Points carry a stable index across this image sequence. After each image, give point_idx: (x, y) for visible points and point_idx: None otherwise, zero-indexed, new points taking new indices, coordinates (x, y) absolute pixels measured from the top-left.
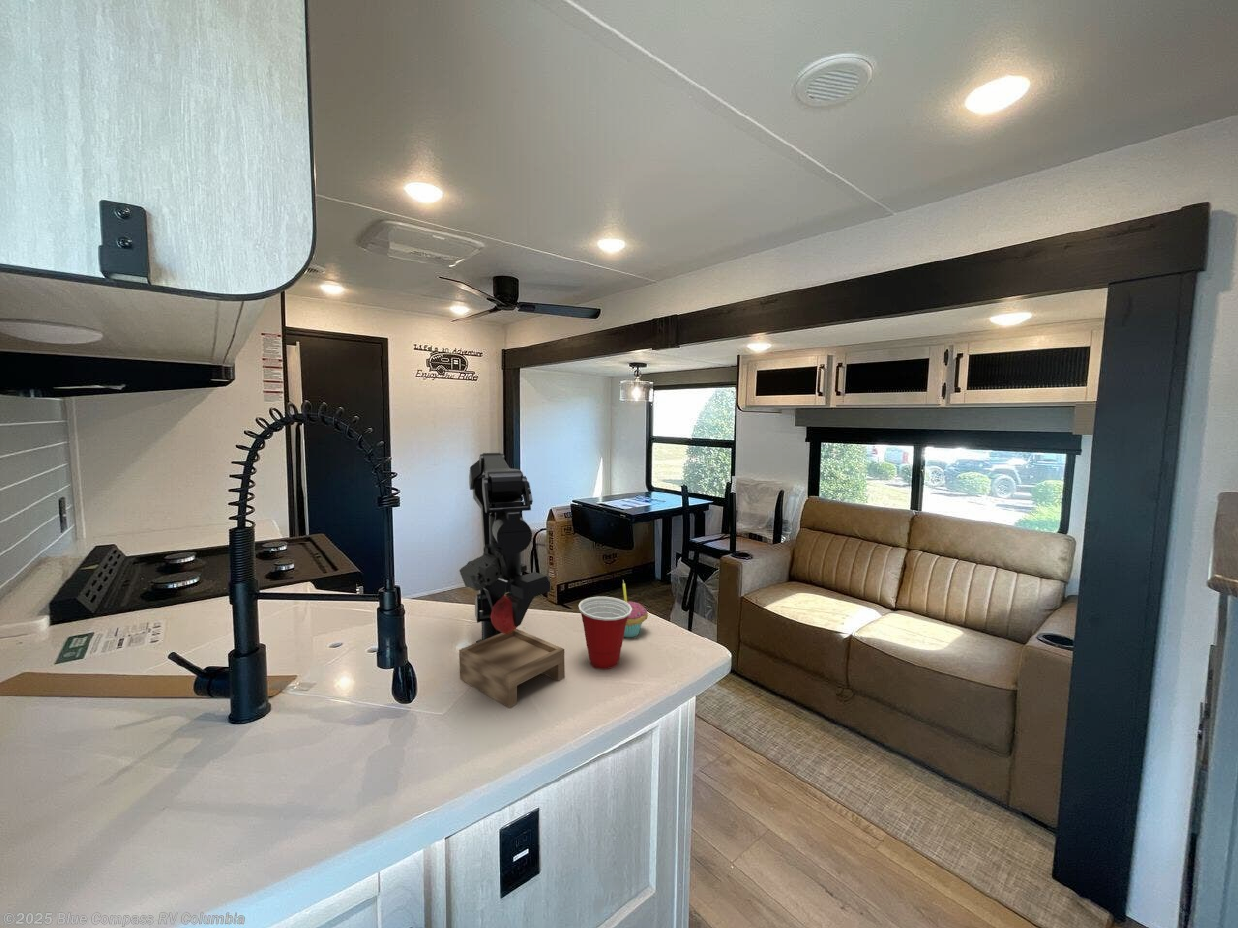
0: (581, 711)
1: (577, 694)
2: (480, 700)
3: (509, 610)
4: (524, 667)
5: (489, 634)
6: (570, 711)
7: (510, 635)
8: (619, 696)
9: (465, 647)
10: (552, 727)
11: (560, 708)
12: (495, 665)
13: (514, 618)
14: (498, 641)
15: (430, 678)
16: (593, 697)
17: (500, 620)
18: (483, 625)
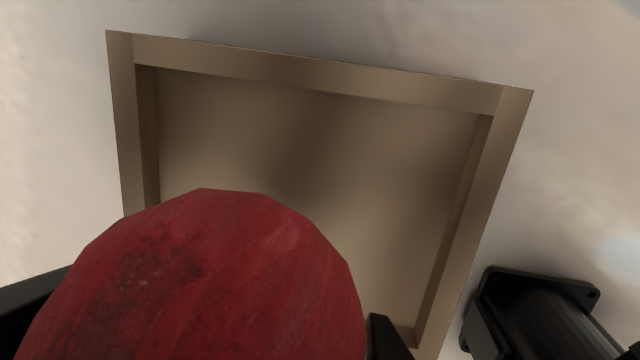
0: (30, 142)
1: (100, 200)
2: (297, 16)
3: (17, 357)
4: (120, 128)
5: (546, 319)
6: (48, 127)
7: (418, 324)
8: (24, 241)
9: (517, 128)
10: (17, 36)
11: (77, 124)
12: (233, 70)
13: (19, 289)
14: (433, 270)
15: (597, 14)
16: (61, 209)
17: (136, 219)
18: (606, 348)
